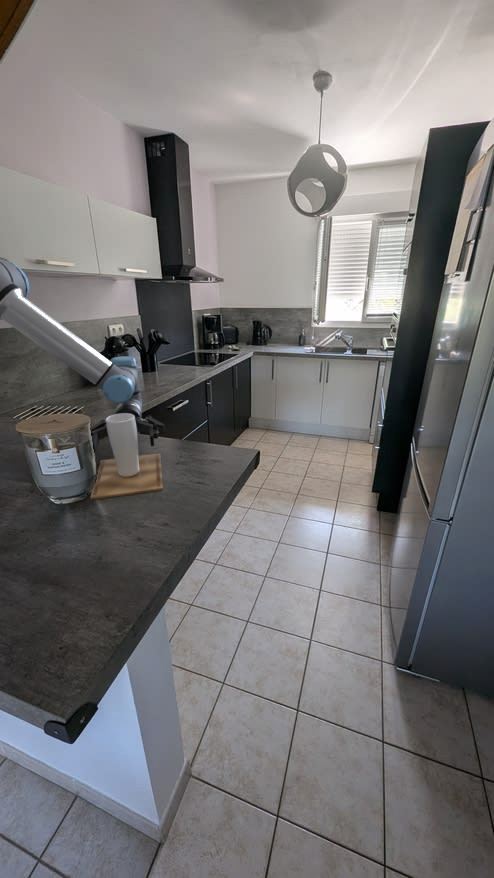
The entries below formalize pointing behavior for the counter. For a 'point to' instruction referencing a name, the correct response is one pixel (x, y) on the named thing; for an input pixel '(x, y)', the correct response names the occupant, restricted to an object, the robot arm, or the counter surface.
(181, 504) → the counter surface
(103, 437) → the robot arm
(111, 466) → the wooden cutting board
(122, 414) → the drinking glass
